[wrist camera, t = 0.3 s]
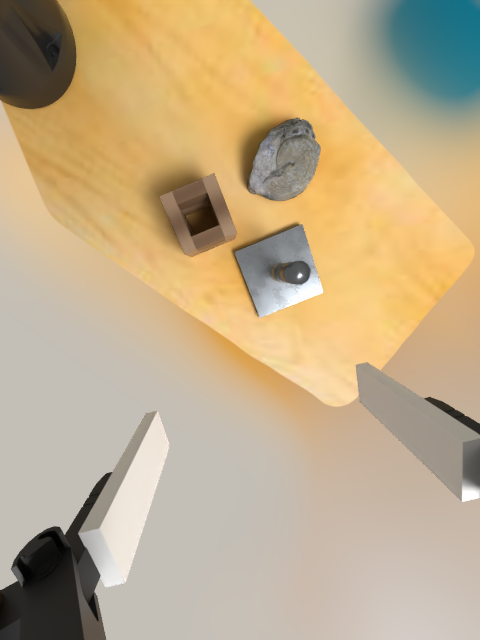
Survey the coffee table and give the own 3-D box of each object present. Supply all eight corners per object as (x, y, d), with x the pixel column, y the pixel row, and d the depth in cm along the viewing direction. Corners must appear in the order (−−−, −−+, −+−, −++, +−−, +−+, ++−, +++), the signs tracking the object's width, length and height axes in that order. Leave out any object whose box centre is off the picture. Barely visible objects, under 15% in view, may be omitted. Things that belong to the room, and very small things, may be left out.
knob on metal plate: (234, 252, 37) (237, 244, 27) (300, 225, 37) (330, 206, 26) (259, 316, 40) (271, 333, 29) (321, 291, 40) (356, 298, 29)
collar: (170, 209, 35) (159, 196, 30) (216, 189, 35) (214, 173, 29) (191, 257, 37) (184, 254, 31) (235, 238, 37) (236, 232, 31)
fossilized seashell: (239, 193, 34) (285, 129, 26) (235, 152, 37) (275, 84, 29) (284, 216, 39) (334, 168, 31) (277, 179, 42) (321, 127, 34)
